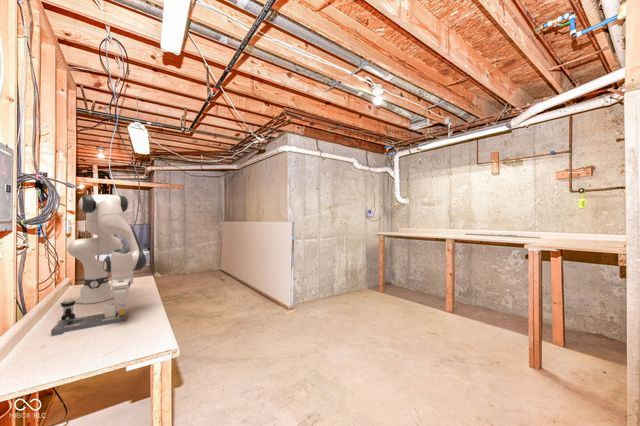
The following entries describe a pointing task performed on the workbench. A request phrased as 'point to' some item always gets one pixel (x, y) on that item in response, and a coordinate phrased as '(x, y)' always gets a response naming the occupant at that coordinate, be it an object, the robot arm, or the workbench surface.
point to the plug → (110, 310)
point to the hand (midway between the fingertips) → (122, 308)
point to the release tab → (122, 312)
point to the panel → (86, 322)
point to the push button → (67, 310)
